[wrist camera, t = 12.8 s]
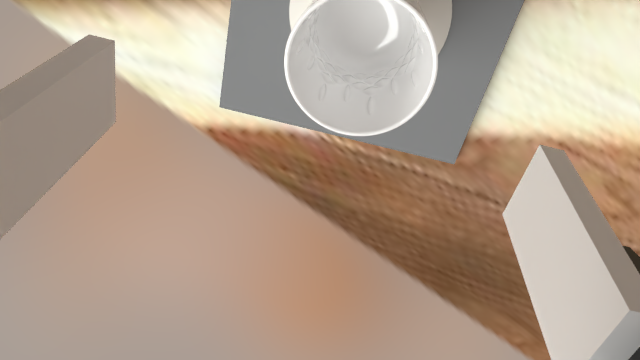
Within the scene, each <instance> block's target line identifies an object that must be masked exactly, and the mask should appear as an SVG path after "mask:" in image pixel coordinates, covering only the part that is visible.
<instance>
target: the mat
mask: <svg viewBox="0 0 640 360" xmlns="http://www.w3.org/2000/svg"><path fill="white" fill-rule="evenodd" d="M311 1H312V0H231V9H230V18H229V27H228V36H227V45H226V54H225V63H224V72H223V80H222V89H221V98H220V107H221V108H225V109H229V110H233V111H237V112H242V113H246V114H250V115H254V116H258V117H262V118H266V119H270V120H274V121H279V122H283V123H287V124H291V125H295V126H299V127H303V128H307V129H312V130H316V131H320V132H324V133H328V134H332V135H336V136H340V137H344V138H349V139H353V140H357V141H361V142H365V143H369V144H373V145H377V146H381V147H386V148H390V149H394V150H398V151H402V152H406V153H410V154H414V155H418V156H423V157H427V158H431V159H435V160H439V161H443V162H447V163H451V164H454V163H455V161H456V159H457V156H458V154H459V152H460V149H461V147H462V145H463V142H464V140H465V138H466V135H467V133H468V131H469V128H470V126H471V124H472V121H473V119H474V117H475V114H476V112H477V110H478V107H479V105H480V103H481V100H482V98H483V96H484V93H485V91H486V89H487V86H488V84H489V82H490V79H491V77H492V75H493V72H494V70H495V68H496V65H497V63H498V61H499V58H500V56H501V54H502V51H503V49H504V47H505V44H506V42H507V40H508V37H509V35H510V33H511V30H512V28H513V26H514V23H515V21H516V19H517V16H518V14H519V12H520V9H521V7H522V5H523V2H524V0H417V2H418V3H419V5H420V7H421V9H422V11H423V13H424V15H425V18H426V20H427V22H428V25H429V27H430V29H431V31H432V34H433V36H434V39H435V42H436V46H437V52H438V71H437V77H436V81H435V84H434V87H433V89H432V92H431V94H430V96H429V98H428V99H427V101H426V102H425V104H424V105H423V106H422V108H421V109H420V110H419V111H418V112H417V113H416V114H415V115H414V116H413V117H412V118H411V119H409V120H408V121H407V122H405V123H404V124H402V125H401V126H399V127H397V128H395V129H393V130H390V131H388V132H385V133H381V134H377V135H371V136H351V135H345V134H340V133H337V132H334V131H331V130H329V129H327V128H325V127H323V126H321V125H319V124H318V123H316V122H315V121H314V120H312V119H311V118H310V117H309V116H308V115H307V114H306V113H305V112H304V111H303V110H302V109H301V108H300V107H299V105H298V104H297V103H296V101H295V99H294V98H293V96H292V94H291V92H290V89H289V87H288V84H287V80H286V76H285V69H284V55H285V48H286V44H287V41H288V38H289V35H290V33H291V31H292V29H293V27H294V25H295V23H296V22H297V20H298V19H299V18H300V16H301V15H302V14H303V12H304V11H305V10H306V8H307V7H308V5H309V4H310V3H311Z"/></svg>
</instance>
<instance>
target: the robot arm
mask: <svg viewBox="0 0 640 360" xmlns="http://www.w3.org/2000/svg"><path fill="white" fill-rule="evenodd" d="M115 100H116V99H115V41H113V40H109V39H105V38H101V37H97V36H93V35H88V36H86V37H84V38H83V39H81V40H80V41H78V42H76V43H75V44H73V45H72V46H70V47H68V48H67V49H65V50H64V51H62V52H60V53H59V54H57V55H56V56H54V57H52V58H51V59H49V60H47V61H46V62H44V63H43V64H41V65H39V66H38V67H36V68H35V69H33V70H31V71H30V72H28V73H27V74H25V75H24V76H22V77H20V78H19V79H17V80H16V81H14V82H12V83H11V84H9V85H8V86H6V87H4V88H3V89H1V90H0V239H1V238H2V237H3V236H4V235H5V234H6V233H7V232H8V231H9V230H10V229H11V228H12V227H13V226H14V225H15V224H16V223H17V222H18V221H19V220H20V219H21V218H22V217H23V216H24V215H25V214H26V213H27V212H28V210H30V209H31V208H32V207H33V206H34V205H35V203H37V202H38V201H39V199H41V198H42V197H43V195H45V193H46V192H47V191H48V190H49V189H50V188H51V187H52V186H53V185H54V184H55V183H56V182H57V181H58V180H59V179H60V178H61V177H62V176H63V175H64V174H65V173H66V172H67V171H68V170H69V169H70V168H71V167H72V166H73V165H74V164H75V163H76V162H77V161H78V160H79V159H80V158H81V157H82V156H83V155H84V154H85V153H86V152H87V151H88V150H89V149H90V148H91V147H92V146H93V145H94V144H95V143H96V142H97V141H98V140H99V139H100V138H101V136H102V135H104V134H105V132H107V130H108V129H109V128H110V127H111V126H112V125H113V124H114V123H115V122H116V102H115ZM503 217H504V220H505V223H506V226H507V229H508V232H509V235H510V238H511V241H512V244H513V247H514V250H515V253H516V256H517V259H518V262H519V265H520V268H521V271H522V274H523V277H524V280H525V283H526V286H527V289H528V292H529V295H530V298H531V301H532V304H533V307H534V310H535V313H536V316H537V319H538V322H539V325H540V327H541V330H542V333H543V336H544V339H545V342H546V345H547V348H548V351H549V354H550V357H551V360H640V257H639V256H638V255H637V254H636V253H635V252H634V251H633V250H632V249H631V248H629V247H626V246H622V245H621V243H620V241H619V240H618V238H617V236H616V235H615V233H614V231H613V230H612V228H611V227H610V225H609V223H608V222H607V220H606V218H605V217H604V215H603V214H602V212H601V210H600V209H599V207H598V205H597V204H596V202H595V200H594V199H593V197H592V196H591V194H590V192H589V191H588V189H587V187H586V186H585V184H584V183H583V181H582V179H581V178H580V176H579V174H578V173H577V171H576V170H575V168H574V166H573V165H572V163H571V161H570V160H569V158H568V156H567V155H566V153H565V152H564V150H560V149H555V148H551V147H547V146H543V145H539V147H538V149H537V151H536V153H535V155H534V156H533V158H532V160H531V162H530V164H529V166H528V168H527V170H526V171H525V173H524V175H523V177H522V179H521V181H520V183H519V185H518V186H517V188H516V190H515V192H514V194H513V196H512V198H511V199H510V201H509V203H508V205H507V207H506V209H505V211H504V213H503Z"/></svg>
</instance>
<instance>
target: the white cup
mask: <svg viewBox="0 0 640 360" xmlns="http://www.w3.org/2000/svg"><path fill="white" fill-rule="evenodd" d="M284 69H285V76H286V80H287V84H288V87H289V89H290V92H291V94H292V96H293V98H294V99H295V101H296V103H297V104H298V105H299V107H300V108H301V109H302V110H303V111H304V112H305V113H306V114H307V115H308V116H309V117H310V118H311V119H312V120H314V121H315V122H316V123H318V124H319V125H321V126H323V127H325V128H327V129H329V130H331V131H334V132H337V133H340V134H345V135H351V136H371V135H377V134H381V133H385V132H388V131H390V130H393V129H395V128H397V127H399V126H401V125H402V124H404V123H405V122H407V121H408V120H409V119H411V118H412V117H413V116H414V115H415V114H416V113H417V112H418V111H419V110H420V109H421V108H422V106H423V105H424V104H425V102H426V101H427V99H428V98H429V96H430V94H431V92H432V89H433V87H434V84H435V81H436V77H437V71H438V52H437V46H436V42H435V39H434V36H433V34H432V31H431V29H430V27H429V25H428V22H427V20H426V18H425V15H424V13H423V11H422V9H421V7H420V5H419V3H418V2H417V0H312V1H311V3H310V4H309V5H308V7H307V8H306V10H305V11H304V12H303V14H302V15H301V16H300V18H299V19H298V20H297V22H296V23H295V25H294V27H293V29H292V31H291V33H290V35H289V38H288V41H287V44H286V48H285V55H284Z"/></svg>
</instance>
